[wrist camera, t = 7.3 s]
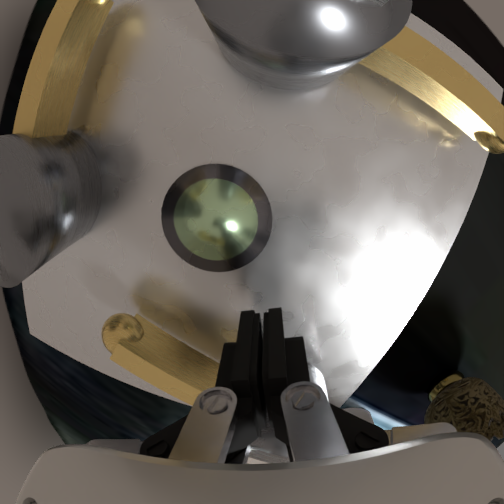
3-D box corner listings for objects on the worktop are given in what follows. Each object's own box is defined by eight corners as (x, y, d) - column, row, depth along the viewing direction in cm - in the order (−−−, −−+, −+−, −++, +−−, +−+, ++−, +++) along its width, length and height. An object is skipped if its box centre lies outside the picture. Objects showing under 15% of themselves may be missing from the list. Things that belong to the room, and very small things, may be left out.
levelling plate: (314, 416, 19) (316, 433, 18) (39, 322, 17) (29, 334, 15) (487, 90, 10) (504, 89, 8) (115, -40, 7) (103, -51, 6)
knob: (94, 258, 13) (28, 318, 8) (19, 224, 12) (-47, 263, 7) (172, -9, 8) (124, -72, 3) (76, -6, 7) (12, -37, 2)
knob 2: (194, 65, 9) (140, 15, 4) (244, -37, 7) (234, -113, 2) (463, 189, 11) (543, 225, 6) (491, 93, 9) (567, 94, 3)
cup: (449, 340, 16) (499, 417, 9) (487, 356, 17) (527, 416, 10) (389, 404, 19) (415, 482, 12) (435, 411, 20) (461, 472, 13)
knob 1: (344, 381, 16) (363, 456, 10) (282, 425, 18) (284, 491, 12) (142, 260, 13) (83, 331, 8) (104, 333, 15) (62, 399, 10)
